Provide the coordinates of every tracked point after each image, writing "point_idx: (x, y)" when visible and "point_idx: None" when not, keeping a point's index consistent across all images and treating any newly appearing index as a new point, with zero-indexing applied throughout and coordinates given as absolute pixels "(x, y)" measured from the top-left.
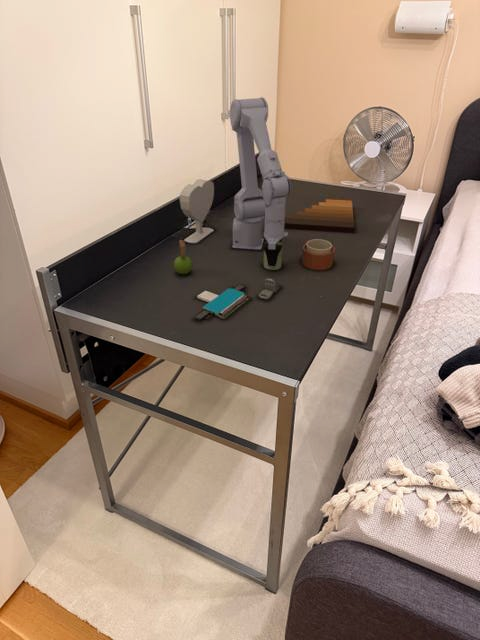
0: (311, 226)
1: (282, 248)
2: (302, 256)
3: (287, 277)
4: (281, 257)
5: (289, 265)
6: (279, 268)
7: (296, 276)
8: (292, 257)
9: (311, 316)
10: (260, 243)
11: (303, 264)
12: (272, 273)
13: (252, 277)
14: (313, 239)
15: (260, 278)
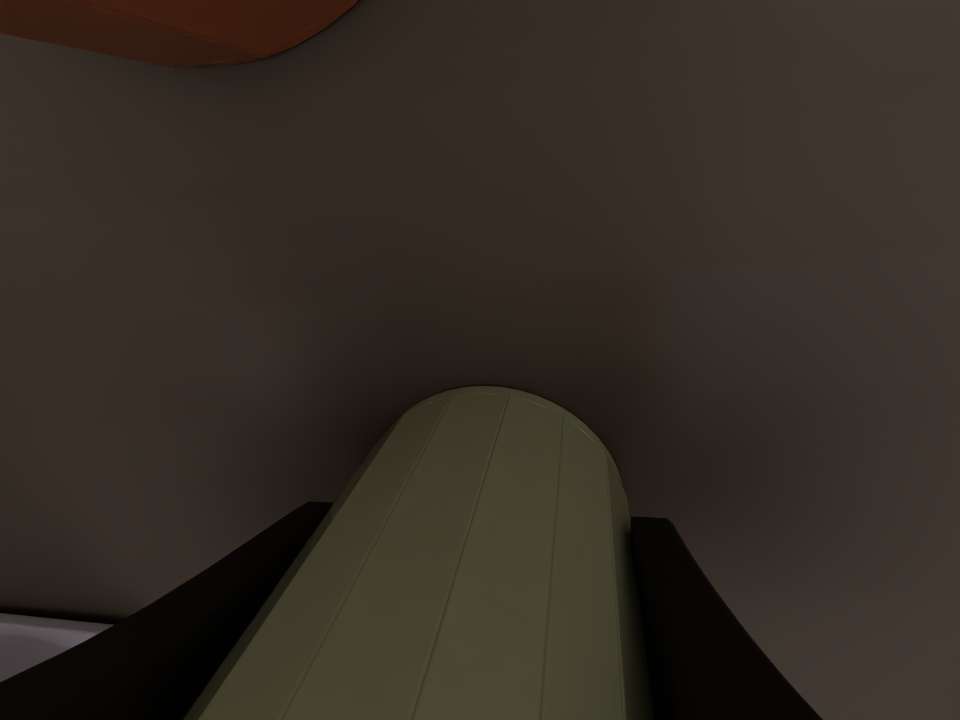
0: None
1: (430, 666)
2: (198, 23)
3: (881, 259)
4: (508, 495)
5: (422, 267)
6: (565, 410)
7: (838, 87)
8: (154, 246)
9: None
10: (38, 660)
11: (342, 5)
12: (736, 494)
13: (872, 713)
14: None
15: (907, 633)
